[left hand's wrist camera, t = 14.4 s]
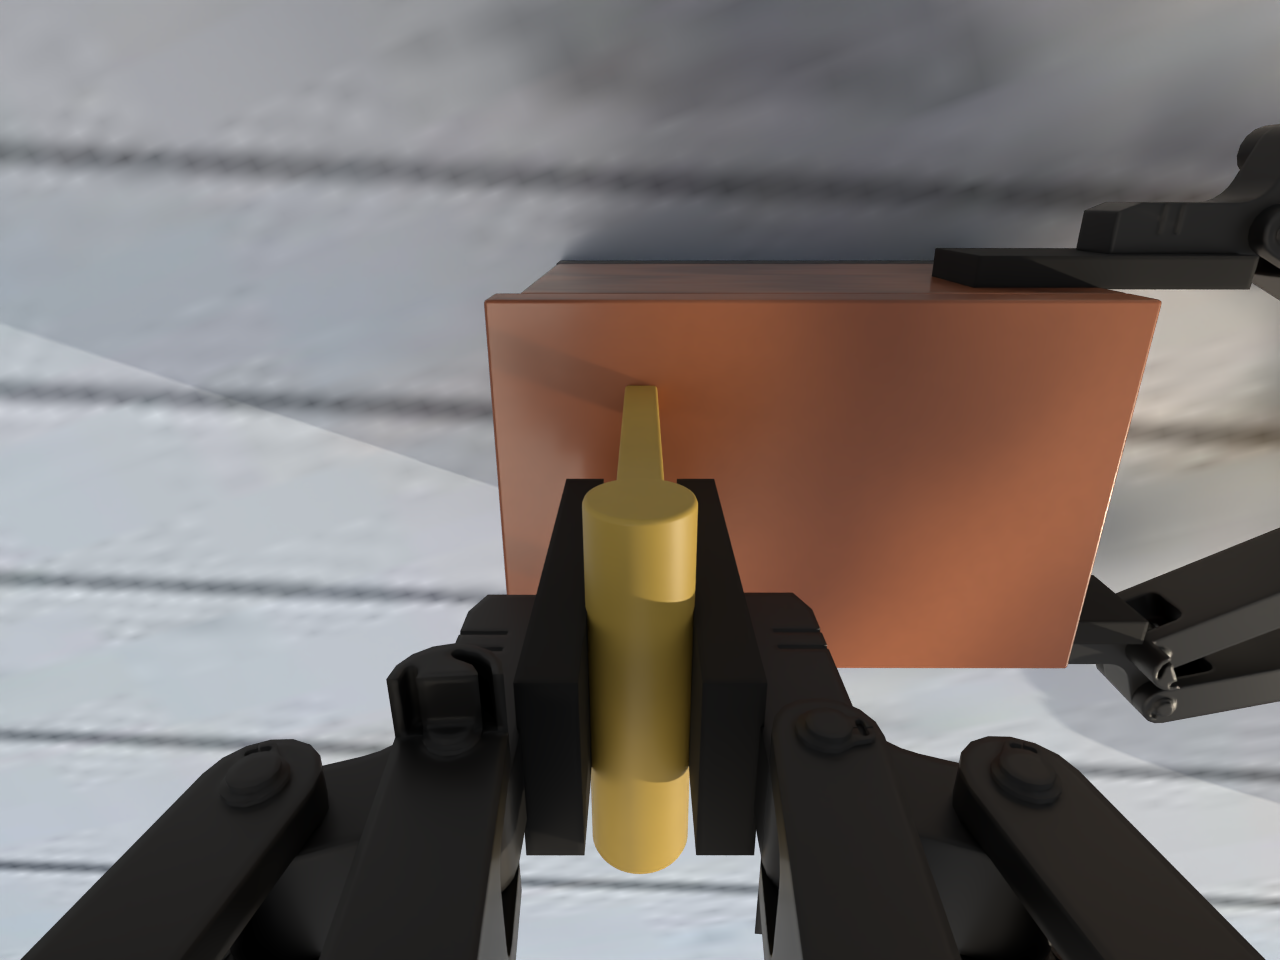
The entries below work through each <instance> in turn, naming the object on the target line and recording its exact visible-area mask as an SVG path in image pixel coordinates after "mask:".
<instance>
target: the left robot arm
mask: <svg viewBox="0 0 1280 960" xmlns="http://www.w3.org/2000/svg"><path fill="white" fill-rule="evenodd" d="M601 484H604V479H566V482H565V486H564V490H563V494H562V497H561V501H560V505H559V509H558V513H557V517H556V520H555V524H554V528H553V532H552V536H551V540H550V543H549V547H548V551H547V555H546V559H545V563H544V566H543V570H542V574H541V578H540V582H539V586H538V589H537V593H536V595H487V596H486V597H485V598H484V599H482V600H481V601H480V602H479V603H478V604H477V605H475V606H474V607H473V608H472V609H471V610H470V611H469V612H468V614H467V616H466V619H465V621H464V624H463V626H462V629H461V631H460V632H461V633H460V635H459V636H458V638H457V641H456V643H454V644H447V645H441V646H434V647H431V648H428V649H426V650H423V651H420V652H418V653H415V654H412V655H411V656H410V657H408V658H407V659H405V660H404V661H402V662H401V663H399V664H398V665H396V667H395V668H394V669H393V671H392V672H391V674H390V675H389V676H388V678H387V679H386V680H387V686H388V693H389V699H390V706H391V712H392V718H393V725H394V731H395V740H394V743H393V745H391V746H389V747H387V748H385V749H383V750H381V751H378V752H375V753H372V754H369V755H366V756H362V757H358V758H354V759H350V760H345V761H341V762H337V763H332V764H328V765H324V766H322V762H321V757H320V755H319V754H318V753H317V751H316V750H315V749H314V748H313V747H312V746H311V745H310V744H307V743H303V742H300V741H297V740H294V739H282V740H268V741H264V742H260V743H257V744H253V745H249V746H246V747H244V748H242V749H240V750H238V751H236V752H234V753H232V754H230V755H228V756H225V757H223V758H222V759H221V760H219V761H218V762H217V763H216V764H214V765H213V766H212V767H211V768H209V769H208V770H207V771H206V772H204V773H203V774H202V775H201V776H200V777H199V778H198V779H197V780H196V781H195V782H194V783H193V784H192V785H191V786H190V787H189V788H188V789H187V790H186V791H185V792H184V793H183V794H182V795H181V796H180V797H179V798H178V799H177V800H176V802H175V803H174V804H173V805H172V806H171V807H170V808H169V809H168V810H167V811H166V812H165V813H164V814H163V815H162V816H161V817H160V818H159V819H158V820H157V821H156V822H155V823H154V824H153V825H152V826H151V827H150V828H149V829H148V830H147V831H146V832H145V833H144V834H143V835H142V836H141V837H140V838H139V839H138V840H137V841H136V842H135V843H134V844H133V845H132V846H131V847H130V848H129V849H128V850H127V851H126V853H125V854H124V855H123V856H122V857H121V858H120V859H119V860H118V861H117V862H116V863H115V864H114V865H113V866H112V867H111V868H110V869H109V870H108V871H107V872H106V873H105V874H104V875H103V876H102V877H101V878H100V879H99V880H98V881H97V882H96V883H95V884H94V885H93V886H92V887H91V888H90V889H89V890H88V891H87V892H86V893H85V894H84V895H83V896H82V897H81V898H80V899H79V900H78V901H77V902H76V904H75V905H74V906H73V907H72V908H71V909H70V910H69V911H68V912H67V913H66V914H65V915H64V916H63V917H62V918H61V919H60V920H59V921H58V922H57V923H56V924H55V925H54V926H53V927H52V928H51V929H50V930H49V931H48V932H47V933H46V934H45V935H44V936H43V937H42V938H41V939H40V940H39V941H38V942H37V943H36V944H35V945H34V946H33V947H32V948H31V949H30V950H29V951H28V952H27V953H26V955H25V956H24V957H23V958H22V959H21V960H516V950H517V939H518V927H519V915H520V904H521V892H522V889H521V877H520V866H519V860H520V854H521V849H522V843H523V838H524V832H525V842H526V855H584V853H585V841H586V830H587V818H588V806H589V794H590V782H591V770H592V757H591V726H590V694H589V662H588V630H587V610H586V607H585V580H584V549H583V518H582V502H583V499H584V497H585V495H586V494H587V492H588V491H590V490H591V489H592V488H594V487H596V486H598V485H601ZM677 484H679V485H682V486H684V487H686V488H688V489H689V490H691V491H692V492H693V493H694V495H695V496H696V499H697V501H698V521H697V552H696V584H695V607H694V614H693V646H692V678H691V709H690V741H689V776H690V787H691V799H692V811H693V823H694V835H695V847H696V855H754V849H755V837H756V831H757V837H758V842H759V848H760V853H761V866H760V877H759V889H758V901H757V913H756V925H755V934H762V937H763V949H764V960H1265V959H1264V958H1263V957H1262V956H1261V955H1260V954H1259V953H1258V952H1257V951H1256V950H1255V949H1254V948H1253V947H1252V946H1251V945H1250V944H1249V942H1248V941H1247V940H1246V939H1245V938H1244V937H1243V936H1242V935H1241V934H1240V933H1239V932H1238V931H1237V930H1236V929H1235V928H1234V927H1233V926H1232V925H1231V924H1230V923H1229V922H1228V921H1227V920H1226V919H1225V918H1224V917H1223V916H1222V915H1221V914H1220V913H1219V912H1218V911H1217V910H1216V909H1215V908H1214V907H1213V906H1212V905H1211V904H1210V903H1209V902H1208V901H1207V900H1206V899H1205V898H1204V897H1203V896H1202V895H1201V894H1200V893H1199V892H1198V891H1197V890H1196V889H1195V888H1194V887H1193V886H1192V885H1191V884H1190V883H1189V882H1188V881H1187V880H1186V879H1185V878H1184V877H1183V876H1182V875H1181V874H1180V873H1179V872H1178V871H1177V870H1176V869H1175V868H1174V867H1173V866H1172V865H1171V863H1170V862H1169V861H1168V860H1167V859H1166V858H1165V857H1164V856H1163V855H1162V854H1161V853H1160V852H1159V851H1158V850H1157V849H1156V848H1155V847H1154V846H1153V845H1152V844H1151V843H1150V842H1149V841H1148V840H1147V839H1146V838H1145V837H1144V836H1143V835H1142V834H1141V833H1140V832H1139V831H1138V830H1137V829H1136V828H1135V827H1134V826H1133V825H1132V824H1131V823H1130V822H1129V821H1128V820H1127V819H1126V818H1125V817H1124V816H1123V815H1122V814H1121V813H1120V812H1119V811H1118V810H1117V809H1116V808H1115V807H1114V806H1113V805H1112V804H1111V803H1110V802H1109V801H1108V800H1107V799H1106V798H1105V797H1104V796H1103V795H1102V794H1101V793H1100V792H1099V791H1098V790H1097V789H1096V788H1095V787H1094V786H1093V785H1092V783H1091V782H1090V781H1089V780H1088V779H1087V778H1086V777H1085V776H1084V775H1083V774H1082V773H1081V772H1080V771H1079V770H1077V769H1076V768H1075V767H1074V766H1072V765H1071V764H1070V763H1068V762H1067V761H1066V760H1065V759H1063V758H1062V757H1061V756H1060V755H1058V754H1056V753H1054V752H1052V751H1050V750H1048V749H1046V748H1044V747H1042V746H1040V745H1038V744H1036V743H1032V742H1028V741H1025V740H1021V739H1017V738H1013V737H998V736H987V737H984V738H981V739H978V740H975V741H972V742H970V743H969V744H968V745H967V747H966V748H965V749H964V750H963V751H962V752H961V755H960V760H959V763H956V762H952V761H948V760H944V759H939V758H935V757H931V756H926V755H922V754H918V753H915V752H912V751H908V750H905V749H902V748H899V747H897V746H895V745H893V744H891V743H889V742H887V741H886V739H885V736H884V735H883V733H882V731H881V730H880V728H879V727H878V725H877V723H876V722H875V721H874V720H873V719H871V718H870V717H869V716H867V715H866V714H865V713H864V712H862V711H861V710H860V709H857V708H855V707H853V706H852V703H851V701H850V699H849V696H848V694H847V691H846V689H845V687H844V684H843V682H842V679H841V677H840V675H839V672H838V670H837V667H836V665H835V663H834V660H833V658H832V655H831V653H830V651H829V649H827V643H826V641H825V639H824V636H823V634H822V632H820V627H819V624H818V622H817V619H816V617H815V615H814V612H813V610H812V609H811V608H810V607H809V606H808V605H807V604H806V603H804V602H803V601H802V600H801V599H800V598H799V597H797V596H796V595H795V594H794V593H777V592H744V591H743V587H742V583H741V579H740V576H739V572H738V568H737V564H736V560H735V556H734V553H733V549H732V545H731V541H730V537H729V533H728V530H727V526H726V522H725V518H724V514H723V510H722V507H721V503H720V499H719V495H718V491H717V488H716V484H715V480H714V479H677Z"/></svg>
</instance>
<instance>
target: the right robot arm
mask: <svg viewBox="0 0 1280 960" xmlns="http://www.w3.org/2000/svg"><path fill="white" fill-rule="evenodd" d="M1237 165H1238V167H1239V169H1240V171H1239V172H1238V174H1237V175H1236V177H1235V179H1234V180H1233V182H1232V183H1231V184H1230V186H1229V187H1228V188H1227V189H1226V190H1225V191H1224V192H1223V193H1221V194H1220V195H1218V196H1217V197H1215V198H1213V199H1210V200H1208V201H1204V202H1105V203H1102V204H1100V205H1097V206H1095V207H1092V208H1090V209H1087V210H1085V211H1084V215H1083V219H1082V224H1081V229H1080V233H1079V238H1078V243H1077V247H1076V248H936V249H935V256H934V263H933V270H932V276H933V277H936V278H940V279H944V280H947V281H951V282H955V283H958V284H962V285H966V286H969V287H973V288H1103V289H1250V287H1251V283H1253V284H1255V285H1256V286H1258V287H1260V288H1261V289H1263V290H1264V291H1266V292H1267V293H1269V294H1270V295H1272V296H1274V297H1275V298H1277V299H1278V300H1280V124H1277V125H1268V126H1263V127H1261V128H1258V129H1255V130H1254V131H1253V132H1252V133H1250V134H1249V135H1248V136H1247V137H1246V138H1245V139H1244V141H1243V142H1242V144H1241V145H1240V148H1239V151H1238V154H1237ZM1068 664H1096V667H1097V669H1098V670H1099V671H1100V672H1101V673H1102V674H1103V675H1104V676H1105V677H1106V678H1107V679H1108V680H1109V681H1110V682H1111V683H1112V685H1113V686H1114V687H1115V688H1116V689H1117V690H1118V691H1119V692H1120V693H1121V694H1122V695H1123V696H1124V697H1125V698H1126V699H1127V700H1128V701H1129V702H1130V703H1131V704H1132V705H1133V706H1134V707H1135V708H1136V709H1137V710H1138V711H1139V712H1140V713H1141V714H1142V715H1143V716H1144V717H1145V718H1146V719H1147V720H1148V721H1150V722H1153V723H1164V722H1169V721H1175V720H1180V719H1186V718H1191V717H1196V716H1202V715H1207V714H1213V713H1218V712H1224V711H1229V710H1235V709H1240V708H1245V707H1251V706H1256V705H1262V704H1267V703H1273V702H1278V701H1280V528H1278V529H1275V530H1273V531H1270V532H1268V533H1265V534H1263V535H1260V536H1258V537H1255V538H1253V539H1250V540H1248V541H1245V542H1243V543H1240V544H1238V545H1235V546H1233V547H1230V548H1228V549H1225V550H1223V551H1220V552H1218V553H1215V554H1213V555H1210V556H1208V557H1205V558H1203V559H1200V560H1198V561H1195V562H1193V563H1191V564H1188V565H1186V566H1183V567H1181V568H1178V569H1176V570H1173V571H1171V572H1168V573H1166V574H1163V575H1161V576H1158V577H1156V578H1153V579H1151V580H1148V581H1146V582H1143V583H1141V584H1138V585H1136V586H1133V587H1131V588H1128V589H1126V590H1123V591H1121V592H1118V593H1116V594H1115V593H1114V592H1113V591H1112V590H1110V589H1109V588H1108V587H1107V586H1106V585H1104V584H1103V583H1102V582H1101V581H1100V580H1098V579H1097V578H1096V577H1095V576H1094V575H1091V576H1090V580H1089V584H1088V588H1087V592H1086V596H1085V599H1084V603H1083V607H1082V611H1081V615H1080V619H1079V622H1078V626H1077V630H1076V634H1075V638H1074V642H1073V646H1072V649H1071V653H1070V657H1069V661H1068Z"/></svg>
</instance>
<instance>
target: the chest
mask: <svg viewBox="0 0 1280 960" xmlns="http://www.w3.org/2000/svg"><path fill="white" fill-rule="evenodd" d="M933 263H934V261H559V262H558V263H557V265H556V266H555V267H554V268H552V269H551V270H550V271H548V272H547V273H546V274H545V275H543V276H542V277H541V278H540V279H538V280H537V281H536V282H534V283H533V284H532V285H531V286H529V287H528V288H527V289H526V290H524V291H523V292H522V293H521V294H1126V293H1123V292H1118V291H1113V290H1108V289H1103V288H973V287H969V286H966V285H962V284H958V283H955V282H951V281H947V280H944V279H940V278H936V277H933V276H932V270H933Z"/></svg>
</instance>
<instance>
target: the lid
mask: <svg viewBox="0 0 1280 960" xmlns="http://www.w3.org/2000/svg"><path fill="white" fill-rule="evenodd" d="M1160 307H1161V301H1160V300H1158V299H1153V298H1148V297H1143V296H1138V295H1132V294H494V295H493V296H491V297H490V298H488V299H487V300H485V302H484V308H485V321H486V334H487V347H488V359H489V372H490V385H491V398H492V411H493V423H494V436H495V449H496V462H497V475H498V488H499V500H500V513H501V526H502V539H503V552H504V564H505V577H506V590H507V595H536V593H537V589H538V586H539V582H540V578H541V574H542V570H543V566H544V563H545V559H546V555H547V551H548V547H549V543H550V540H551V536H552V532H553V528H554V524H555V520H556V517H557V513H558V509H559V505H560V501H561V497H562V494H563V490H564V486H565V482H566V479H604V484H601V485H598V486H596V487H594V488H592V489H591V490H590V491H588V492H587V494H586V495H585V497H584V499H583V502H582V518H583V549H584V580H585V607H586V610H587V630H588V662H589V694H590V726H591V757H592V770H591V795H592V826H593V840H594V844H595V847H596V849H597V851H598V852H599V854H600V855H601V856H602V858H603V859H604V860H605V861H606V862H607V863H609V864H610V865H611V866H613V867H615V868H617V869H619V870H621V871H624V872H628V873H633V874H647V873H653V872H656V871H659V870H661V869H664V868H666V867H667V866H669V865H670V864H672V863H673V862H674V861H675V860H676V859H677V858H678V857H679V855H680V854H681V853H682V851H683V849H684V847H685V845H686V842H687V834H688V803H689V741H690V709H691V678H692V646H693V614H694V607H695V584H696V552H697V521H698V501H697V499H696V496H695V495H694V493H693V492H692V491H691V490H689V489H688V488H686V487H684V486H682V485H679V484H677V479H714V480H715V484H716V488H717V491H718V495H719V499H720V503H721V507H722V510H723V514H724V518H725V522H726V526H727V530H728V533H729V537H730V541H731V545H732V549H733V553H734V556H735V560H736V564H737V568H738V572H739V576H740V579H741V583H742V587H743V591H744V592H777V593H794V594H795V595H796V596H797V597H799V598H800V599H801V600H802V601H803V602H804V603H806V604H807V605H808V606H809V607H810V608H811V609H812V610H813V612H814V615H815V617H816V619H817V622H818V624H819V627H820V632H822V634H823V636H824V639H825V641H826V643H827V649H829V651H830V653H831V655H832V658H833V660H834V663H835V665H836V667H837V668H1066V667H1067V665H1068V661H1069V657H1070V653H1071V649H1072V646H1073V642H1074V638H1075V634H1076V630H1077V626H1078V622H1079V619H1080V615H1081V611H1082V607H1083V603H1084V599H1085V596H1086V592H1087V588H1088V584H1089V580H1090V576H1091V572H1092V569H1093V565H1094V561H1095V557H1096V553H1097V549H1098V546H1099V542H1100V538H1101V534H1102V530H1103V526H1104V522H1105V519H1106V515H1107V511H1108V507H1109V503H1110V499H1111V496H1112V492H1113V488H1114V484H1115V480H1116V476H1117V473H1118V469H1119V465H1120V461H1121V457H1122V453H1123V449H1124V446H1125V442H1126V438H1127V434H1128V430H1129V426H1130V423H1131V419H1132V415H1133V411H1134V407H1135V403H1136V399H1137V396H1138V392H1139V388H1140V384H1141V380H1142V376H1143V373H1144V369H1145V365H1146V361H1147V357H1148V353H1149V349H1150V346H1151V342H1152V338H1153V334H1154V330H1155V326H1156V323H1157V319H1158V315H1159V311H1160Z"/></svg>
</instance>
